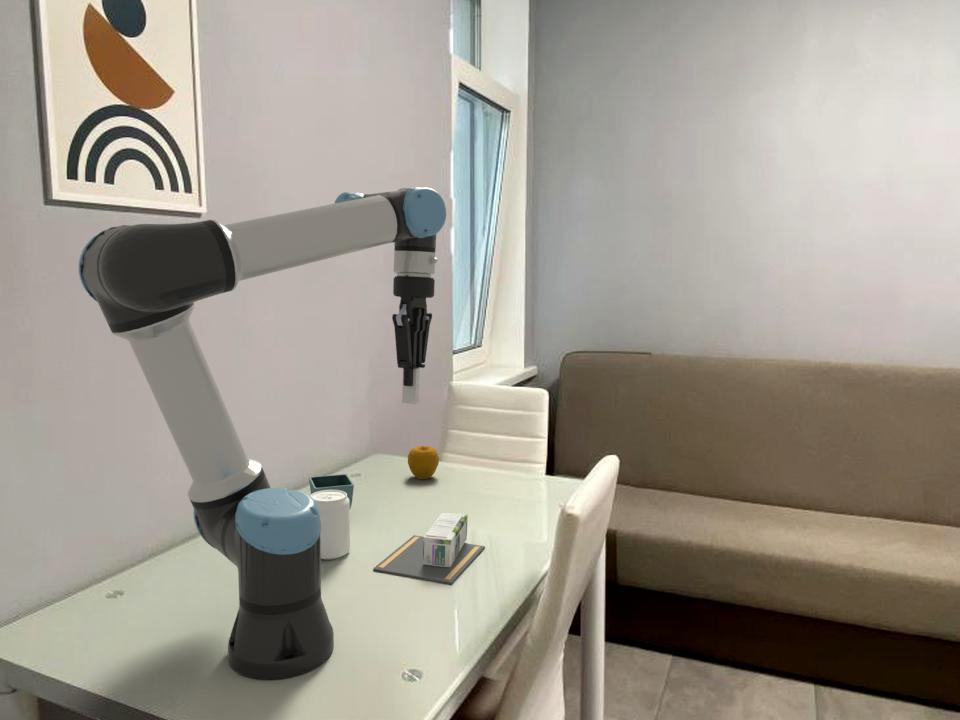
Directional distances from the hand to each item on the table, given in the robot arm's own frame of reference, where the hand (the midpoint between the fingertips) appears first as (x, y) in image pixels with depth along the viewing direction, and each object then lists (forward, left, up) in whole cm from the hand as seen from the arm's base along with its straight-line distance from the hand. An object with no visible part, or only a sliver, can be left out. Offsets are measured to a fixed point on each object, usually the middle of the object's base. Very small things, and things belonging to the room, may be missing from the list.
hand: (410, 402), depth 132 cm
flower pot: (+16, +28, -32) cm, 45 cm away
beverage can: (-1, +18, -32) cm, 37 cm away
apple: (+53, +22, -32) cm, 66 cm away
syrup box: (+15, -3, -29) cm, 32 cm away
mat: (+4, -2, -32) cm, 32 cm away
